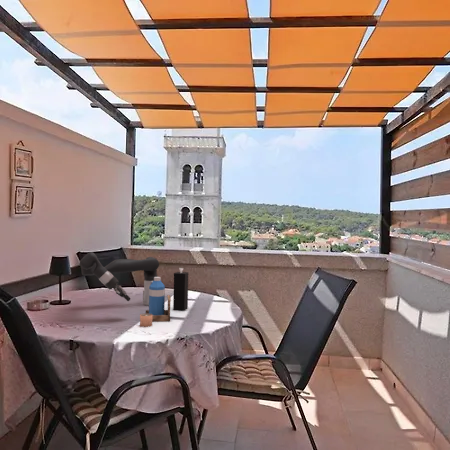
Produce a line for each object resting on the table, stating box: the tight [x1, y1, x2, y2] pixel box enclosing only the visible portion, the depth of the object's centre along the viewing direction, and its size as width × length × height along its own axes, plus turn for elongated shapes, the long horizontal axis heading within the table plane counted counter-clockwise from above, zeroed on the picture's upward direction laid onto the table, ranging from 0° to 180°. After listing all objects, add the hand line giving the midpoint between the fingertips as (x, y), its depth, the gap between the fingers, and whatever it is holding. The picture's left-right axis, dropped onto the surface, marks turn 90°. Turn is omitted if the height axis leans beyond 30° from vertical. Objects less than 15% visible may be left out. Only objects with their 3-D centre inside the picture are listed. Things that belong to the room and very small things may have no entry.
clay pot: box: [139, 312, 153, 328], centre depth 244 cm, size 7×7×6 cm
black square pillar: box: [172, 267, 189, 312], centre depth 286 cm, size 8×8×28 cm
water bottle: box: [148, 276, 166, 315], centre depth 261 cm, size 9×9×25 cm
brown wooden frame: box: [145, 294, 172, 323], centre depth 260 cm, size 15×15×13 cm
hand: (129, 300), depth 256 cm, fingers closed
